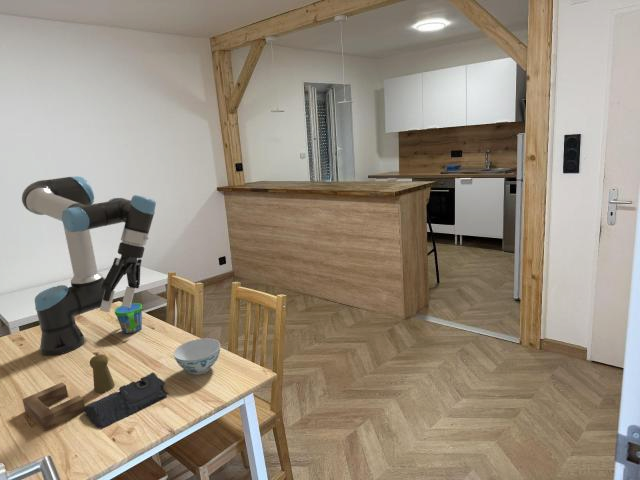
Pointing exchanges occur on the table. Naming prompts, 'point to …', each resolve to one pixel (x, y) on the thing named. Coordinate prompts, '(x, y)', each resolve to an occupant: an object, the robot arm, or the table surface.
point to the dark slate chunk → (126, 401)
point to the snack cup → (130, 317)
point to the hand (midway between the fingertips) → (115, 308)
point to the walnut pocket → (57, 414)
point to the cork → (101, 374)
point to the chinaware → (197, 355)
